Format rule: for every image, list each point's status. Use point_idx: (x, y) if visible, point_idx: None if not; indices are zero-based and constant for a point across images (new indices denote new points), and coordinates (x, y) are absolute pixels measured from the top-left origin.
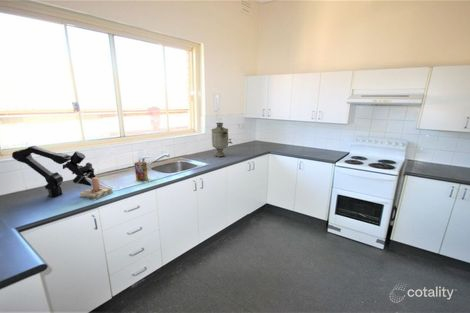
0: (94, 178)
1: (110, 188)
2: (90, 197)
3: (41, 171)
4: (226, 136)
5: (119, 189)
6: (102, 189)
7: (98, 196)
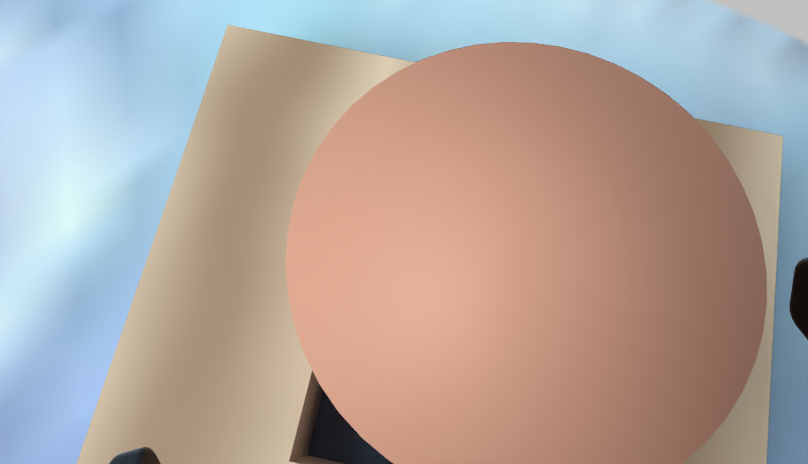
0: (599, 231)
1: (241, 64)
2: None
3: None
4: None
5: (64, 46)
6: None
7: None
